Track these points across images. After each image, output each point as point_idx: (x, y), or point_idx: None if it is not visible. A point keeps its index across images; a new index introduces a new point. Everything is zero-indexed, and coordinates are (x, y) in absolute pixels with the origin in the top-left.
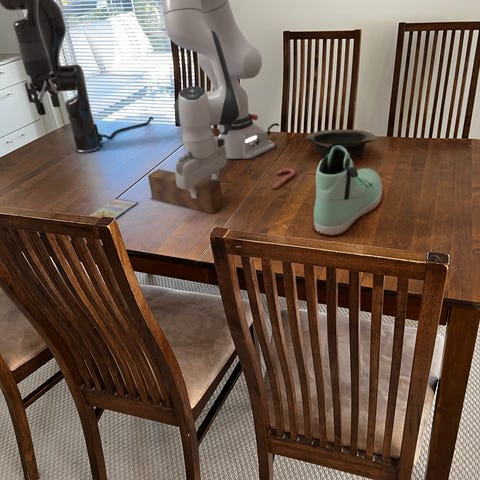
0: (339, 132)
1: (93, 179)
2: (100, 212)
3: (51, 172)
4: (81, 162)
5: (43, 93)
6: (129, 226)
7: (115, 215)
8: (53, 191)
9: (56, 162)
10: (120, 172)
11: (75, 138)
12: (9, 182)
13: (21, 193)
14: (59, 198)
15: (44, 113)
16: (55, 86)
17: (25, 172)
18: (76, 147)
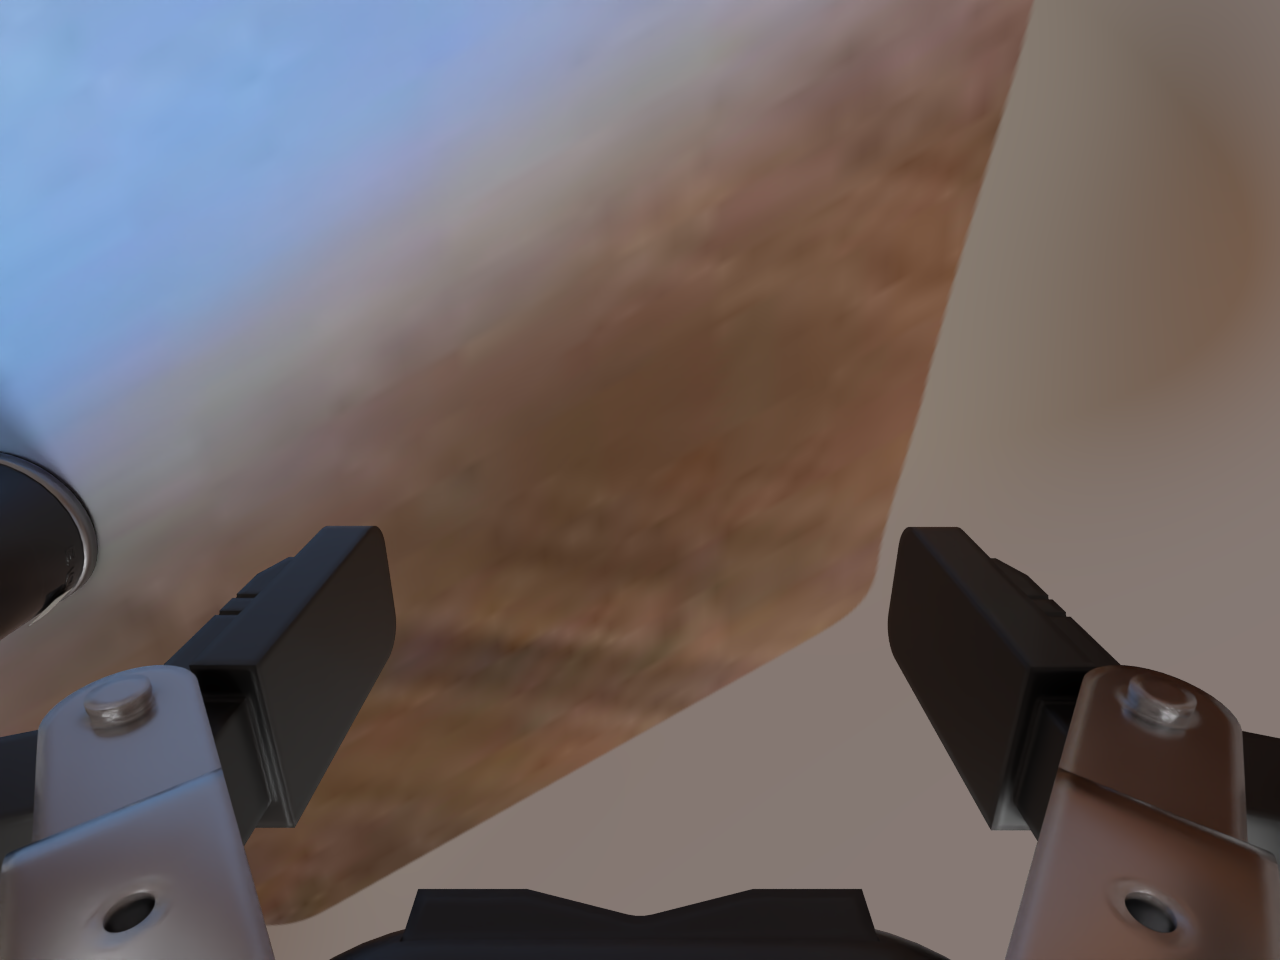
0: None
1: (502, 210)
2: None
3: (438, 572)
4: (244, 458)
5: (1149, 836)
6: None
7: None
8: (709, 407)
9: None
10: (343, 29)
11: (10, 616)
12: (604, 728)
13: (741, 586)
14: (811, 308)
15: (962, 534)
16: (2, 875)
17: (463, 719)
18: (65, 591)
